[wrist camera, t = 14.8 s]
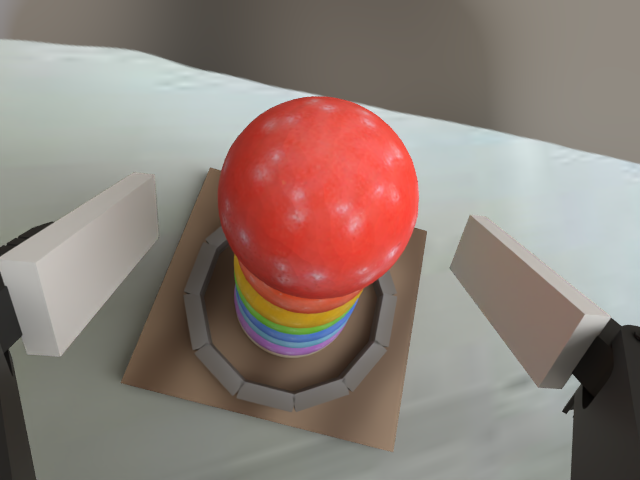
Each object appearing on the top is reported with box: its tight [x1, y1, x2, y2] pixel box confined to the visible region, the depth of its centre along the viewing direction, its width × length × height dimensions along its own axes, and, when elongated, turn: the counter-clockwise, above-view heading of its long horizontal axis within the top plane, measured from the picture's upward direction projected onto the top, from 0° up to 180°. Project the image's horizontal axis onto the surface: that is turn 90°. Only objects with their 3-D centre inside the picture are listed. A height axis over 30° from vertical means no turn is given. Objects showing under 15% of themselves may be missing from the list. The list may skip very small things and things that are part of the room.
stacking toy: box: [218, 96, 419, 358], centre depth 15 cm, size 8×8×19 cm
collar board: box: [121, 168, 427, 452], centre depth 24 cm, size 18×16×3 cm
